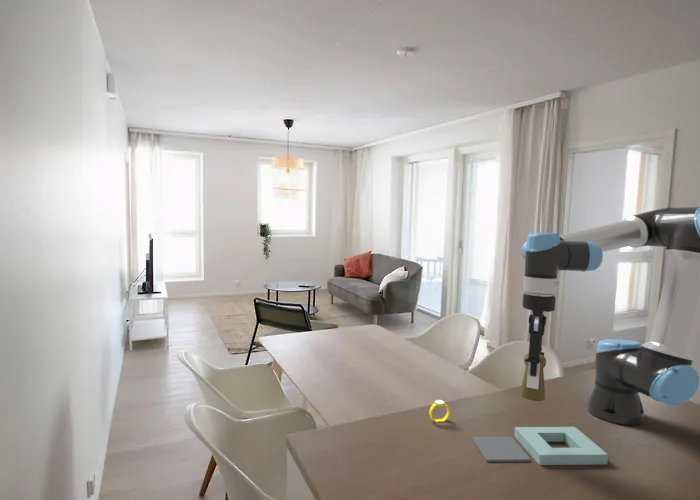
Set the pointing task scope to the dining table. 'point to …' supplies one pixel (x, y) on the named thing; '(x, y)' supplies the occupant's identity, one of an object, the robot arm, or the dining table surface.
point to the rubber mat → (500, 449)
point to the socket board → (544, 454)
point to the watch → (439, 403)
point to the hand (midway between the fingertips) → (533, 383)
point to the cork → (540, 392)
